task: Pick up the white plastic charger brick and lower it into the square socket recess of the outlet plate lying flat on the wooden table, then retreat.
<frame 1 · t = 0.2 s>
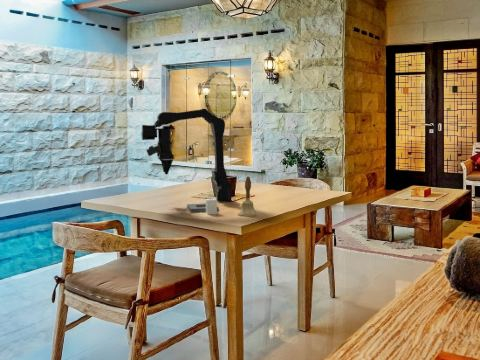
hand: (165, 173, 240), 14 cm above the table, fingers open, 9 cm apart
outlet plate: (202, 209, 229), on the table
hand bell: (247, 215, 216), on the table
charger: (211, 213, 220), on the table
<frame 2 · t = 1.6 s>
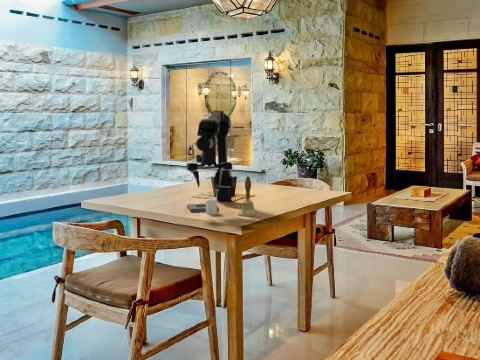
hand: (209, 186, 219), 11 cm above the table, fingers open, 9 cm apart
nothing on the table moved.
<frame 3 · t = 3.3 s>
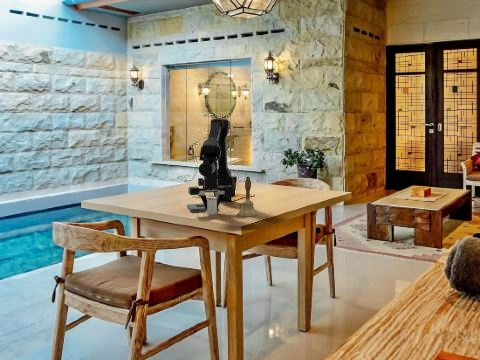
hand: (211, 210, 220), 1 cm above the table, fingers closed on charger, 4 cm apart
charger: (211, 213, 220), on the table, touching gripper
everything else where it was.
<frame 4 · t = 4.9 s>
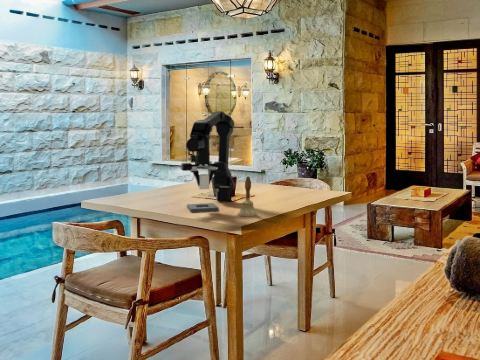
hand: (203, 185, 227), 11 cm above the table, fingers closed on charger, 4 cm apart
charger: (203, 188, 227), point 9 cm above the table, touching gripper
everything else where it was.
when the fingers open (3 cm above the table, at t = 6.5 s): charger drops 1 cm, resting on outlet plate.
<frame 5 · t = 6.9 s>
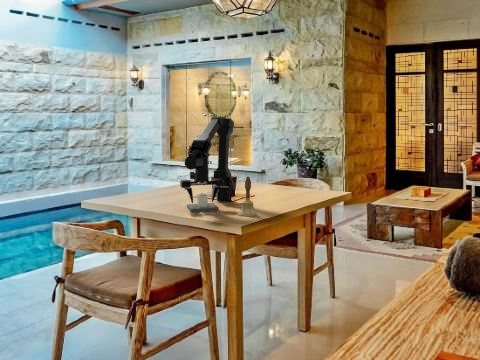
hand: (202, 202, 228), 3 cm above the table, fingers open, 9 cm apart
charger: (202, 208, 229), resting on outlet plate
everything else where it was.
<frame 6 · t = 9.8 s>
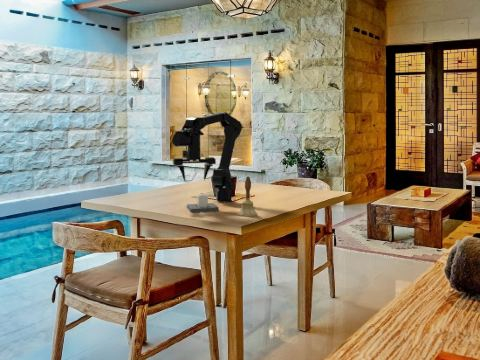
hand: (194, 180, 234), 12 cm above the table, fingers open, 9 cm apart
nothing on the table moved.
at the end: charger 0.0 cm off-centre on the outlet plate, point 0.3 cm above the outlet plate's base; charger tilted 0°; the gripper is holding nothing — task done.
